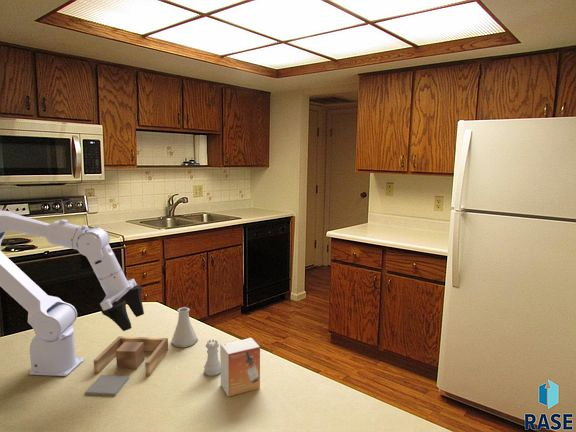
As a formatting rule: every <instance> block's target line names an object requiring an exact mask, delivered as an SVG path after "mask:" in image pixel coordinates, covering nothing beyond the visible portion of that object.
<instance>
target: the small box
mask: <svg viewBox="0 0 576 432" xmlns="http://www.w3.org/2000/svg"><path fill="white" fill-rule="evenodd" d="M219 347H220V351H219V352H220V355H219V356H220V358H219V359H220V363H221V372H220V386H221V387H222V389H223V390H224V392H225V394H226V396H227V397H228V398H229V397H233V396H236V395H240V394H243V393H247V392H250V391H254V390H258V389H260V388H261V347H260V345H259V344H258V343H257V342H256V341H255V340H254V339H253V338H252V337H248V338H245V339H239V340H236V341H231V342H226V343H220V344H219Z"/></svg>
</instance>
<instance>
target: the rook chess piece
mask: <svg viewBox="0 0 576 432" xmlns="http://www.w3.org/2000/svg"><path fill="white" fill-rule="evenodd" d="M219 347H220V344H219V343H218V340H216V339H212V340H211V339H209V340H208V341H207V342H206V345H205V348H206V349H207V351H206V353H207V359H206V362H205V364H204V366H203V368H204V370H203V371H204V373H205V375H207V376H209V377H215V376H218V375H220V374H221V360H219V355H218V354H219V353H218V352H219V349H218V348H219Z"/></svg>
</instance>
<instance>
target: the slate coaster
mask: <svg viewBox="0 0 576 432" xmlns="http://www.w3.org/2000/svg"><path fill="white" fill-rule="evenodd" d="M129 380H130V376H129V375H114V374H112V375H111V374H109V375H107V374H105V375H104V374H100V375H99V377H97V378H96V380H95V381H94V382H93V383H92V384H91V385H90V386H89V387H88V388H87V389H86V390H85V392H84V394H85V395H90V396H110V397H111V396H112V397H113V396H114V397H115V396H117V394H118V393H119V392H120V391H121V390H122V388H123V387H124V386H125V384H126V383H127V382H128V381H129Z"/></svg>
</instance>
